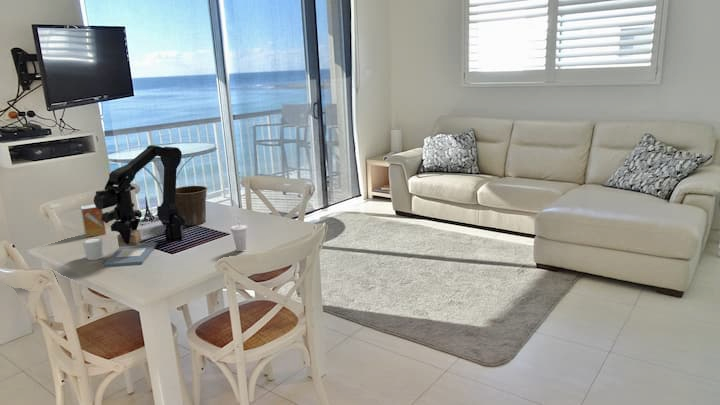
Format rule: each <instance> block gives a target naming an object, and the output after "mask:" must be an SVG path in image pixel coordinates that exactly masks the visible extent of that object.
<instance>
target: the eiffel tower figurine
mask: <svg viewBox="0 0 720 405" xmlns="http://www.w3.org/2000/svg"><path fill="white" fill-rule="evenodd" d="M144 198H145V212H144V213H145V214H144V217H143V219H142V223H141V224H140V226H141V227H142V226H145V225H148V224H150V222H151V224H152V223H155V222H160V220H159V219H158V216H157V214H155V216H156V217H157V219H156V217H155V216H154V215H153V214H152V212H151V211H150V209H149V208H150V207H149V204H148V200H147V196H146V195H145V196H144ZM146 218H148V219H149V220H148V219H146Z"/></svg>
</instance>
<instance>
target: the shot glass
mask: <svg viewBox="0 0 720 405" xmlns="http://www.w3.org/2000/svg"><path fill="white" fill-rule="evenodd" d="M82 246H83V249H84V252H85V256H86V260H88V261H95V260H100V259H101V258H103V257H104V250H103V239H102V238H100V237H93V238H88V239H85V240H83V241H82Z"/></svg>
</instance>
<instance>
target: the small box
mask: <svg viewBox="0 0 720 405" xmlns="http://www.w3.org/2000/svg"><path fill="white" fill-rule="evenodd" d="M79 209H80V215H81V219H82V226H83V232H84V235H85V237H86V238H89V237H95V236H100V235H106V234H107V231H106V223H105V222H104V221H102V220H101V219H102V218H101V216H102V214H103V213H104V212H103V209H101V210H100V209H98V208H97V207H96V206H95V204H94V203H93V204H88V205H81V206H80V208H79Z"/></svg>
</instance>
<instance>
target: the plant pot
mask: <svg viewBox="0 0 720 405" xmlns="http://www.w3.org/2000/svg"><path fill="white" fill-rule="evenodd" d="M207 190H208V187H207V186H204V185H188V186H186V185H185V186H181V187H176V197H175V203H176V205H177V207H178V209H179V216H181V217H182V218H183V219H185V225H183V226H188V227H190V226H199V225H201V224H204V223H205V222H206V221H207V220H206V217H207V216H206V215H207V214H206V208H207V207H206V204H207V203H206V201H207V200H206V199H207V198H206V197H207Z"/></svg>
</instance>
